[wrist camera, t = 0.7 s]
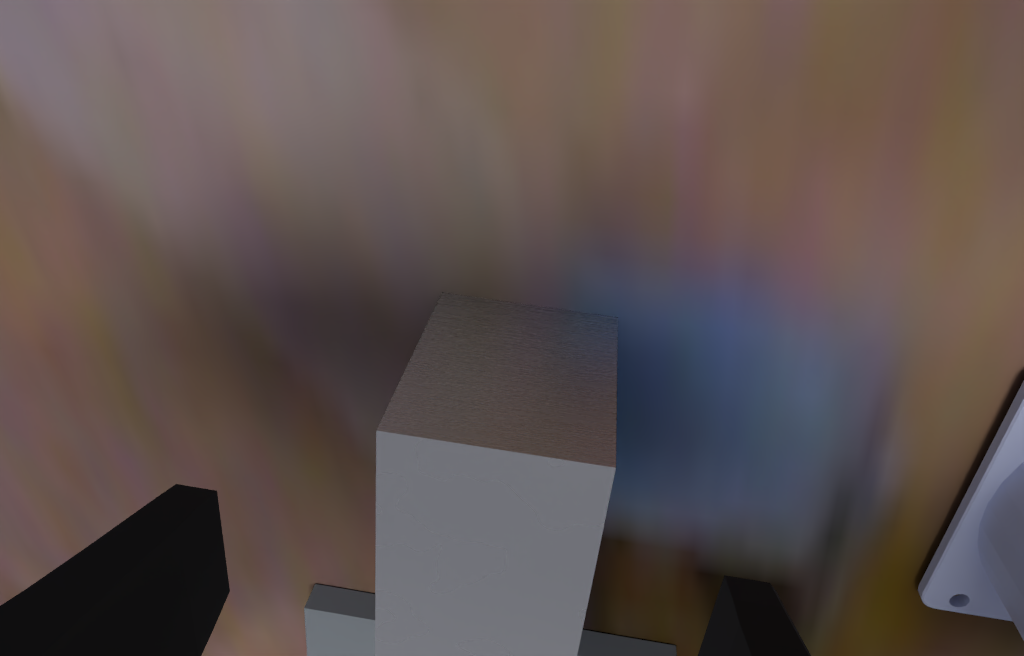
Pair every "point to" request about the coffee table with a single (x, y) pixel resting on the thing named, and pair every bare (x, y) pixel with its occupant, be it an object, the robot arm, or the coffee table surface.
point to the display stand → (351, 629)
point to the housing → (495, 481)
